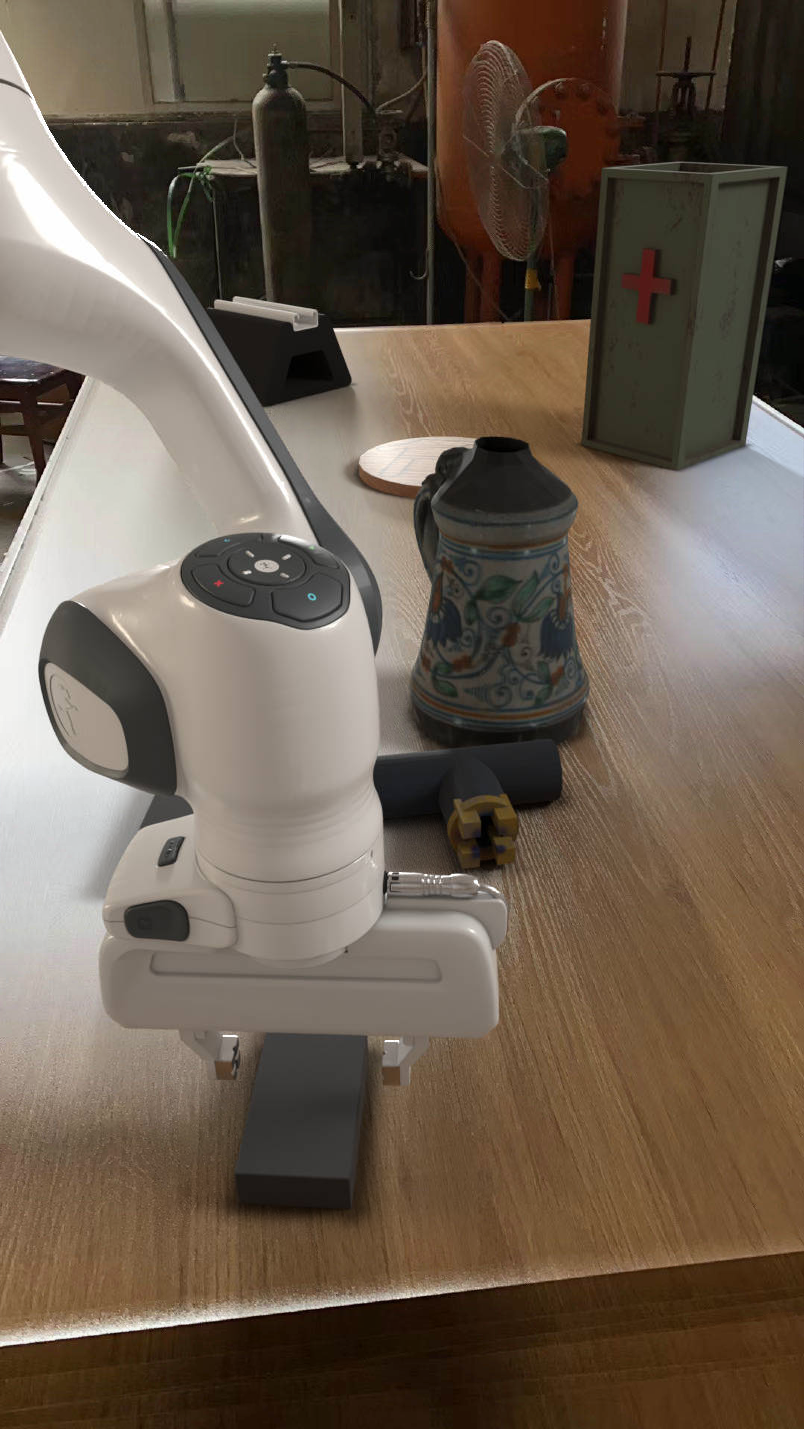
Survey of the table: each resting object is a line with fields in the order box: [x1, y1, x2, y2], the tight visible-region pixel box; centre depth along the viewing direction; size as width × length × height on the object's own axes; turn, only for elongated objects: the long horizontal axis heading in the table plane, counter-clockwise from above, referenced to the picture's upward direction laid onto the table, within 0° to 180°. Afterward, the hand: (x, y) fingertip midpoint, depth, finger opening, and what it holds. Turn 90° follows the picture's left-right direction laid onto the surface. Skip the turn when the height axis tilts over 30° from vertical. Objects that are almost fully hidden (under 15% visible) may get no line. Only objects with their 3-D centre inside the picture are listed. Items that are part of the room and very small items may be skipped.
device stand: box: [204, 296, 353, 407], centre depth 208 cm, size 22×22×15 cm
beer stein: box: [408, 435, 590, 749], centre depth 96 cm, size 16×19×25 cm
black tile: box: [233, 1032, 369, 1210], centre depth 62 cm, size 6×13×2 cm, turn 176°
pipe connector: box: [373, 739, 564, 869], centre depth 84 cm, size 12×5×15 cm
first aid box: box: [581, 161, 788, 471], centre depth 164 cm, size 18×18×40 cm
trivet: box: [358, 436, 477, 499], centre depth 163 cm, size 25×25×2 cm
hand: (310, 1073), depth 59 cm, fingers open, 8 cm apart
